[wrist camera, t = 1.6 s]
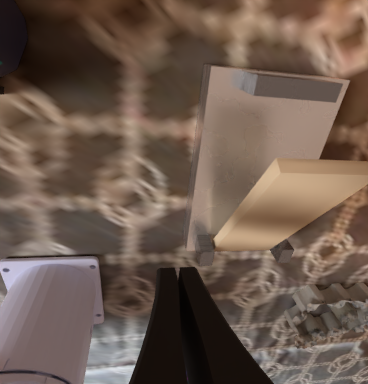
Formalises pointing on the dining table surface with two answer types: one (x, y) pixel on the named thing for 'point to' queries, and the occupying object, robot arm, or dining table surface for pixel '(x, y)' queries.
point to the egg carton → (330, 321)
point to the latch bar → (289, 201)
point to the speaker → (11, 37)
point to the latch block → (251, 141)
